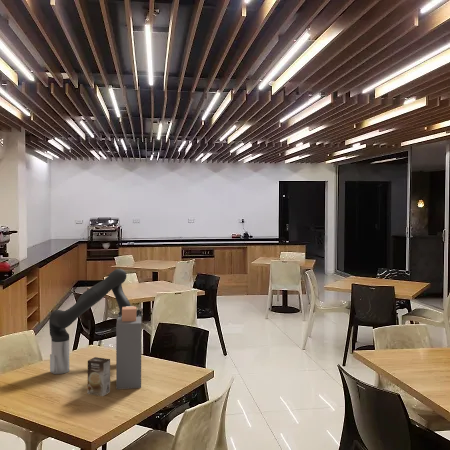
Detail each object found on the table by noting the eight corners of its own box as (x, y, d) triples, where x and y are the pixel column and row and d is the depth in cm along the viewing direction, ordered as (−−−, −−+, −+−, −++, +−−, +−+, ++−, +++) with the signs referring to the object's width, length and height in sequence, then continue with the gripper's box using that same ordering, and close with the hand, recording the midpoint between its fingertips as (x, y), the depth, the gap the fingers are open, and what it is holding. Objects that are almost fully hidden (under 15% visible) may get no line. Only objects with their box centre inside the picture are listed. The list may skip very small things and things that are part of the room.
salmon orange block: (123, 313, 258) (123, 302, 258) (136, 313, 259) (136, 302, 259) (121, 321, 239) (121, 309, 239) (136, 321, 241) (136, 309, 241)
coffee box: (86, 394, 228) (86, 360, 228) (94, 389, 234) (94, 356, 234) (103, 396, 225) (103, 362, 225) (110, 391, 231) (110, 358, 231)
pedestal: (118, 378, 250) (117, 317, 249) (141, 377, 252) (141, 316, 251) (116, 389, 234) (116, 324, 234) (141, 387, 236) (141, 323, 236)
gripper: (117, 313, 269) (116, 302, 254) (143, 312, 271) (143, 302, 256) (117, 326, 265) (115, 316, 250) (143, 325, 268) (143, 315, 253)
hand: (129, 309), depth 253 cm, fingers closed on salmon orange block, 4 cm apart
